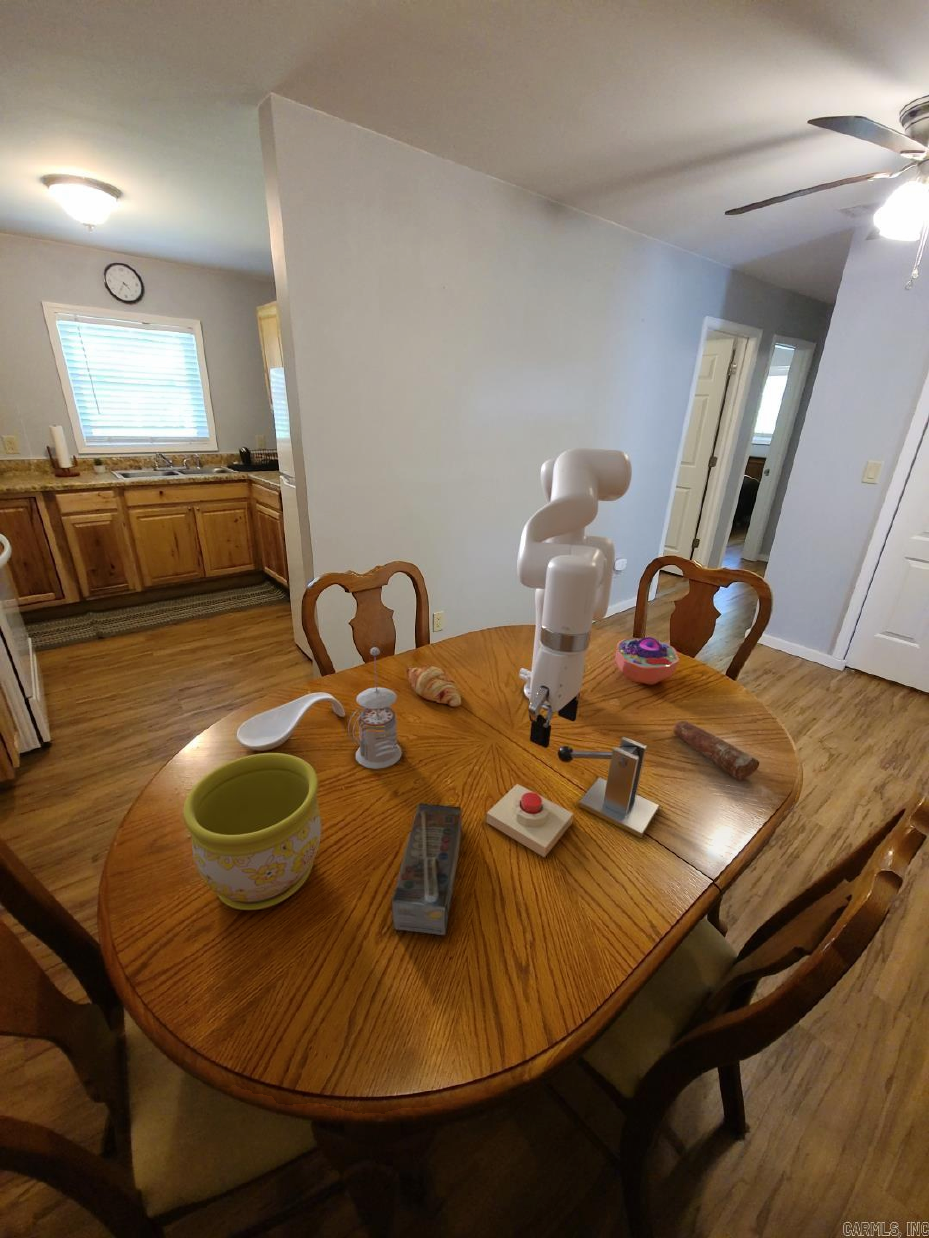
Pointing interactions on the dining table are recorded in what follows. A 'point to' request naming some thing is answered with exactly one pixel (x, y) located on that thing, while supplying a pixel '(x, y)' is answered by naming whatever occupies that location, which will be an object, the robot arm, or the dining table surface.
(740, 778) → the salami
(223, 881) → the flowerpot
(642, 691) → the dining table surface
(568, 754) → the lever
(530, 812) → the button
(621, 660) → the cell model
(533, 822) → the button block
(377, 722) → the french press
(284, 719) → the spoon rest
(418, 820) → the grey printed box
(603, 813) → the bracket
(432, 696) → the croissant
